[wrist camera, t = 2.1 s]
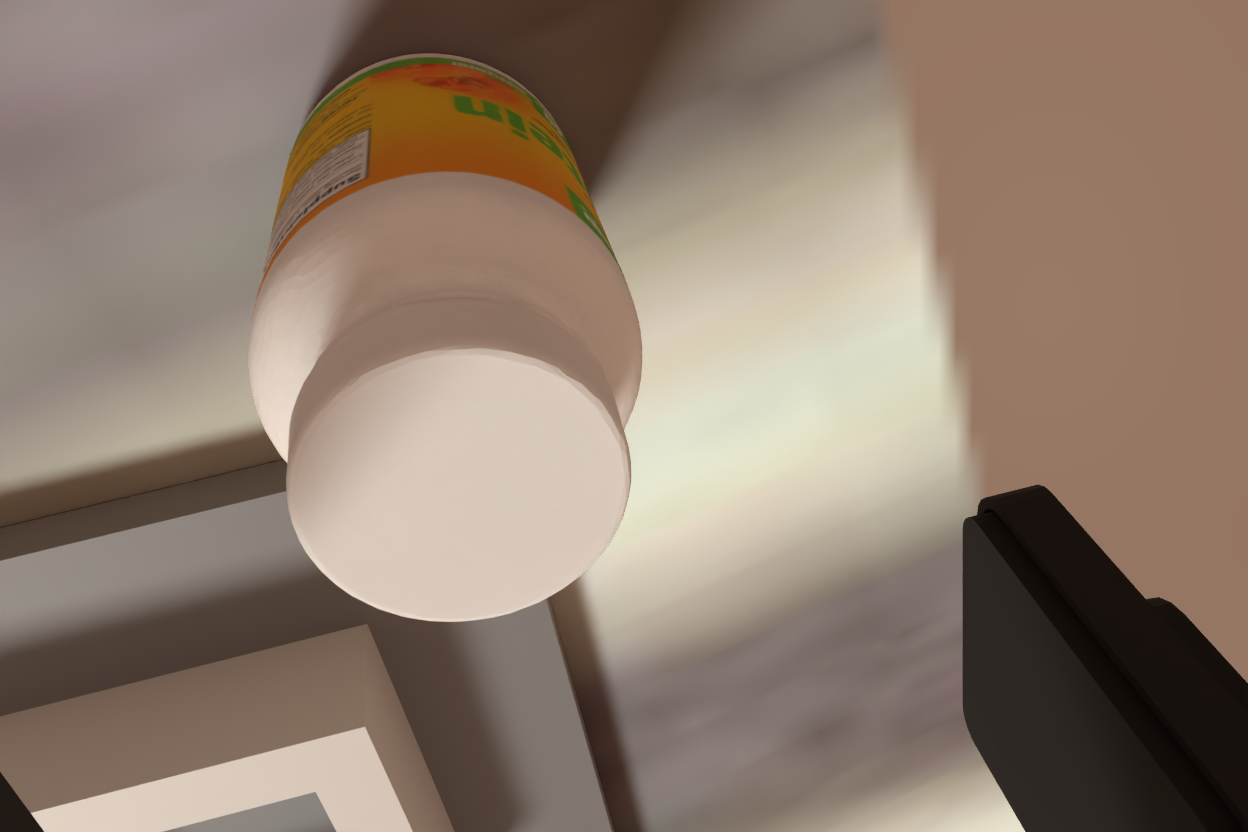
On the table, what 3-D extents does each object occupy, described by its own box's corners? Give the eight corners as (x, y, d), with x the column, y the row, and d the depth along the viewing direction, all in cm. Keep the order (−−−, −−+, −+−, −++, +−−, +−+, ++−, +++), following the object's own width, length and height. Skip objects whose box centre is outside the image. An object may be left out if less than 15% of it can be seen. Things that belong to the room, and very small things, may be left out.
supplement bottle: (632, 180, 21) (783, 464, 13) (451, 366, 23) (487, 724, 14) (414, -21, 18) (436, 179, 10) (226, 204, 20) (116, 533, 12)
